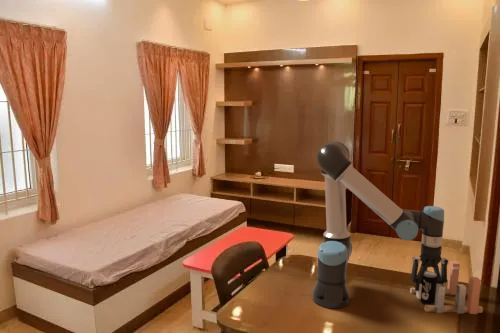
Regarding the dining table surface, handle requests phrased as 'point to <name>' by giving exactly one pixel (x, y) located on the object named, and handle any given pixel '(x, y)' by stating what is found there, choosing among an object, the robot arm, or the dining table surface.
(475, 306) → the terracotta aperture
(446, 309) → the oak channel
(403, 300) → the dining table surface
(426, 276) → the beverage can
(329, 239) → the robot arm
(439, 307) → the steel collars
